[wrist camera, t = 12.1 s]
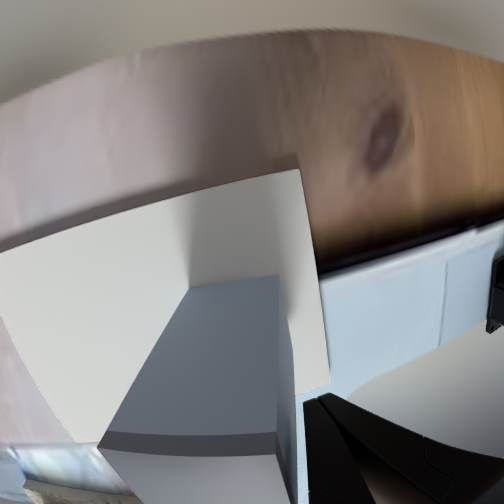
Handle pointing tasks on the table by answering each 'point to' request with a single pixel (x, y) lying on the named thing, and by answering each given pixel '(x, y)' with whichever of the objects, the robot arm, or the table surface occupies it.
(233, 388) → the block
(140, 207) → the mat
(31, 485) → the packaged product
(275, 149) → the table surface
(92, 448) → the table surface
